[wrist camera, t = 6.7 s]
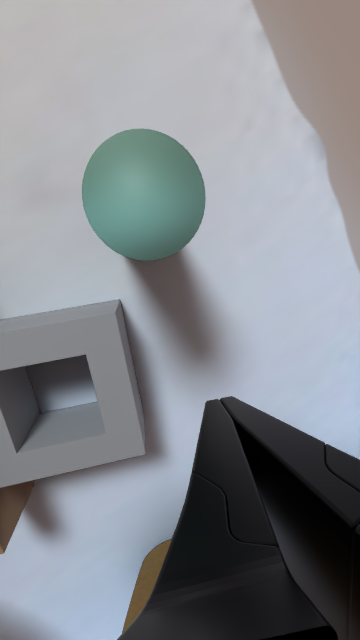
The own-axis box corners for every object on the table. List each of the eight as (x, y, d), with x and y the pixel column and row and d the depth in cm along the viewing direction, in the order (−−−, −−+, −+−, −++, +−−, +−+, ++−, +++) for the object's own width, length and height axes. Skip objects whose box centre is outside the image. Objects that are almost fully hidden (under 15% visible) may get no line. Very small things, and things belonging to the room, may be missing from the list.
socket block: (144, 416, 23) (145, 454, 19) (19, 443, 22) (-9, 489, 18) (119, 299, 21) (115, 312, 16) (-23, 323, 20) (-68, 344, 15)
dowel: (173, 250, 20) (212, 251, 10) (118, 258, 20) (97, 269, 10) (164, 191, 19) (197, 122, 9) (106, 199, 19) (67, 136, 8)
